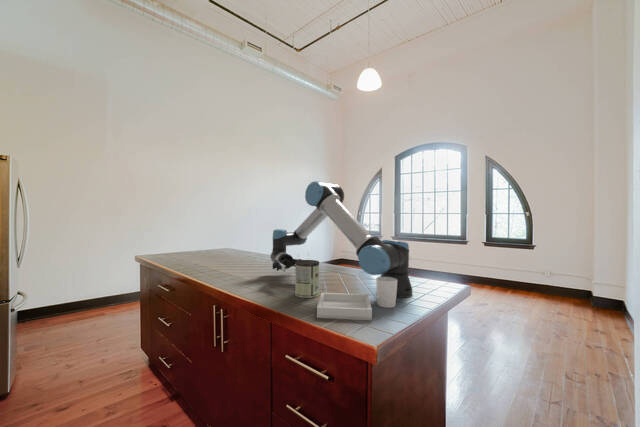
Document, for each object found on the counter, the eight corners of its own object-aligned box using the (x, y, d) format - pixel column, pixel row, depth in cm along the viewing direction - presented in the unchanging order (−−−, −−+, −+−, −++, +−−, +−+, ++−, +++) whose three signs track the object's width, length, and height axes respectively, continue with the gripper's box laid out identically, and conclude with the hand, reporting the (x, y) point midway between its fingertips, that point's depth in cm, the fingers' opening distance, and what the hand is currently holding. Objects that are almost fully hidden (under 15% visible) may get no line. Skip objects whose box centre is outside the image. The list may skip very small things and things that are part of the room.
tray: (367, 303, 112) (367, 294, 112) (371, 320, 94) (372, 309, 94) (321, 301, 113) (321, 292, 113) (316, 317, 95) (317, 307, 95)
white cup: (397, 303, 112) (398, 277, 113) (396, 309, 105) (396, 282, 105) (377, 301, 115) (377, 276, 115) (374, 307, 108) (374, 280, 108)
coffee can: (297, 291, 129) (297, 259, 129) (320, 291, 127) (320, 260, 128) (292, 297, 118) (293, 263, 118) (317, 298, 117) (318, 264, 117)
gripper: (306, 266, 156) (323, 274, 137) (260, 269, 146) (272, 278, 127) (306, 252, 156) (323, 258, 137) (261, 254, 146) (272, 261, 127)
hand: (298, 268), depth 132 cm, fingers open, 13 cm apart
